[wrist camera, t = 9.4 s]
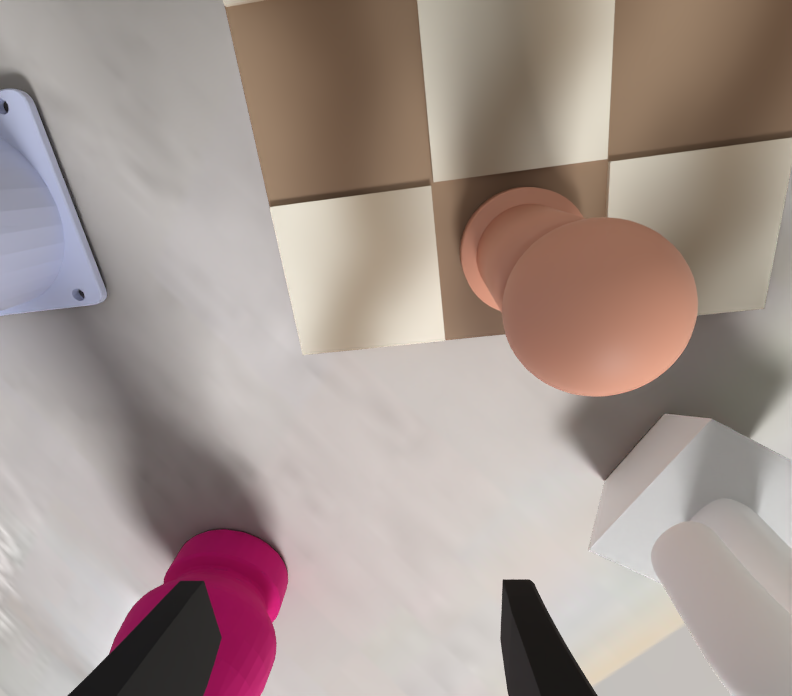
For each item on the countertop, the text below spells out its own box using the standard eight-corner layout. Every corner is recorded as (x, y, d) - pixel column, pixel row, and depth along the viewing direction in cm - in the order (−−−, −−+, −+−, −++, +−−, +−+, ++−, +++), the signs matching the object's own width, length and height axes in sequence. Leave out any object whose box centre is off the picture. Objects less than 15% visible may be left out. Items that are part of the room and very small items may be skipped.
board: (308, 345, 19) (301, 356, 18) (183, -231, 13) (161, -268, 12) (743, 301, 18) (765, 309, 17) (863, -390, 11) (912, -450, 10)
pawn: (464, 312, 17) (509, 453, 9) (455, 195, 16) (500, 229, 7) (578, 299, 17) (742, 434, 8) (581, 178, 15) (788, 193, 7)
